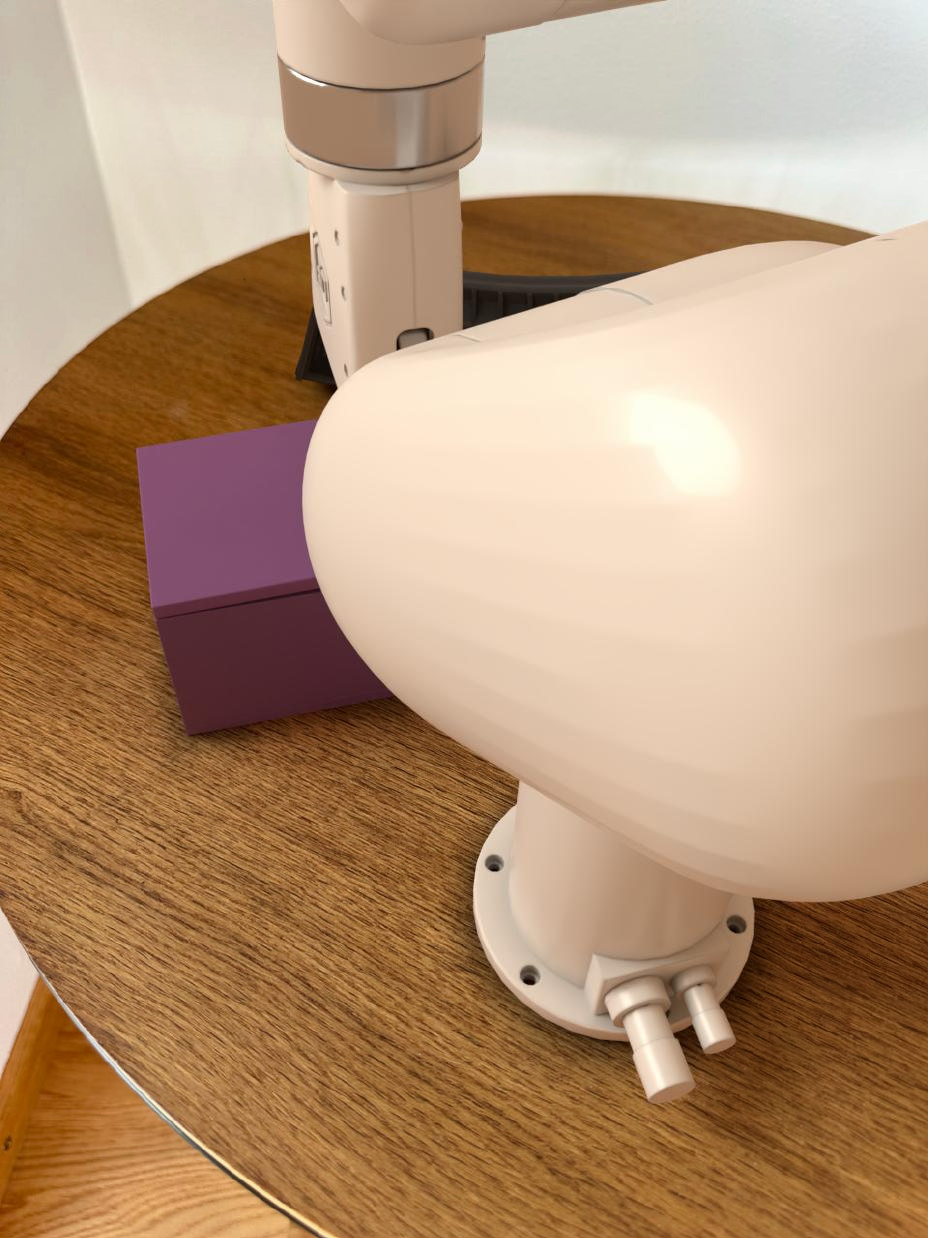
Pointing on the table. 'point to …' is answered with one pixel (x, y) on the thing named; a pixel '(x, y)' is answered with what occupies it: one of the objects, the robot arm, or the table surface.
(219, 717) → the box
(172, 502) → the lid
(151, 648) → the table surface
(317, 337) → the magazine
